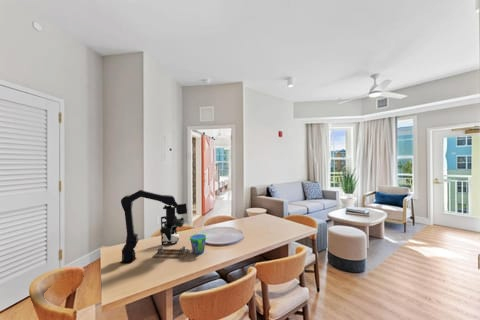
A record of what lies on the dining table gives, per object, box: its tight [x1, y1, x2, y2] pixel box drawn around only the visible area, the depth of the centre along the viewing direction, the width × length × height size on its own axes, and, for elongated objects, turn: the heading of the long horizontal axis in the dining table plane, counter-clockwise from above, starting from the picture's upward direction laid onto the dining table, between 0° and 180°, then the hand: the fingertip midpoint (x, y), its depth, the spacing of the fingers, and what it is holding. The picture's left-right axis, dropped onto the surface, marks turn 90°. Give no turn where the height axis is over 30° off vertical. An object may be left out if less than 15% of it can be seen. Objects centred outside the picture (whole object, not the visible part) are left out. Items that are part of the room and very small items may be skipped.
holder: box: [160, 215, 178, 246], centre depth 158 cm, size 11×8×20 cm
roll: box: [163, 233, 180, 243], centre depth 139 cm, size 10×4×4 cm, turn 86°
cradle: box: [152, 245, 190, 259], centre depth 139 cm, size 20×11×4 cm, turn 86°
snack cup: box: [189, 233, 207, 255], centre depth 141 cm, size 16×10×10 cm
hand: (171, 239), depth 139 cm, fingers closed on roll, 4 cm apart
